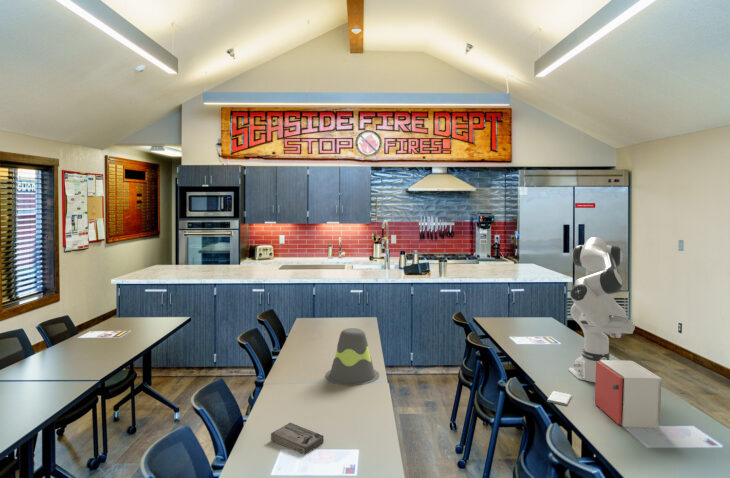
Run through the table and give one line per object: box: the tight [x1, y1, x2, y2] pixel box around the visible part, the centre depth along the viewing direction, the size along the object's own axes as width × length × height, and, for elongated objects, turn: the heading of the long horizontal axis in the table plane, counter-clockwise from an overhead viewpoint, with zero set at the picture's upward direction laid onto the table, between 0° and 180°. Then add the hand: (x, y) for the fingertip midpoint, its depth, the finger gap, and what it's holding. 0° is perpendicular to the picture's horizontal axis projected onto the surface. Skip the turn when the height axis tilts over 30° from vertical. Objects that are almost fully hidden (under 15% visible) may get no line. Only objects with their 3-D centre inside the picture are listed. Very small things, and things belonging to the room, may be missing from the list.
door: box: [594, 361, 623, 426], centre depth 198 cm, size 21×3×19 cm, turn 178°
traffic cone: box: [325, 327, 380, 386], centre depth 243 cm, size 28×28×24 cm
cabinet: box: [600, 359, 662, 429], centre depth 197 cm, size 22×14×20 cm, turn 178°
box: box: [270, 422, 325, 455], centre depth 174 cm, size 11×17×3 cm, turn 55°
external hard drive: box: [546, 390, 572, 406], centre depth 215 cm, size 2×8×12 cm
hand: (616, 336), depth 196 cm, fingers closed
